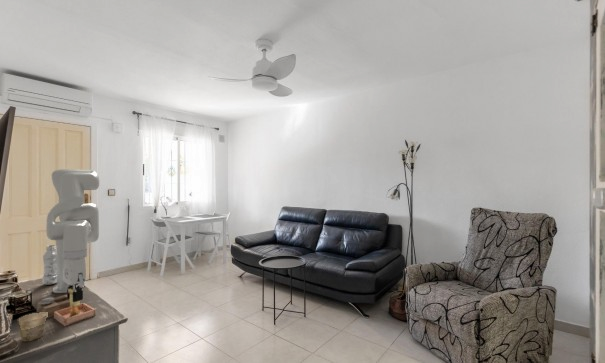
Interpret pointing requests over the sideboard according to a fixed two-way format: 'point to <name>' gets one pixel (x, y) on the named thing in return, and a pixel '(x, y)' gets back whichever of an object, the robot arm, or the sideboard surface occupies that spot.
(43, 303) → the block
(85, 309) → the tray
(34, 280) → the sideboard surface
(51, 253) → the plastic bottle
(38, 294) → the sideboard surface
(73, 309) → the pin
